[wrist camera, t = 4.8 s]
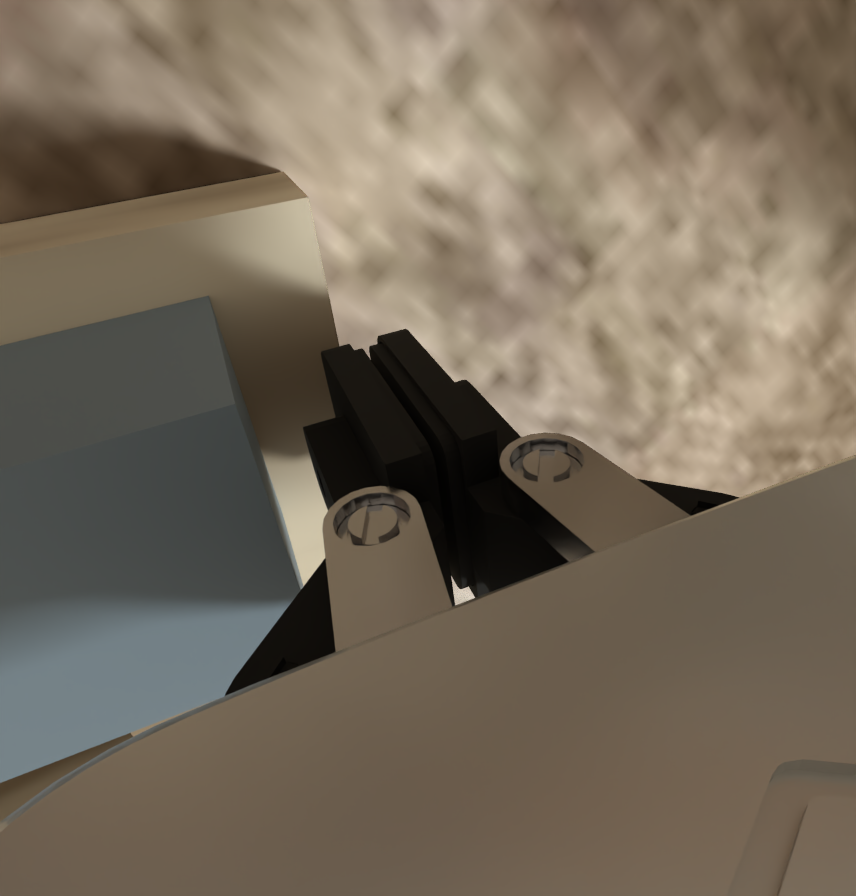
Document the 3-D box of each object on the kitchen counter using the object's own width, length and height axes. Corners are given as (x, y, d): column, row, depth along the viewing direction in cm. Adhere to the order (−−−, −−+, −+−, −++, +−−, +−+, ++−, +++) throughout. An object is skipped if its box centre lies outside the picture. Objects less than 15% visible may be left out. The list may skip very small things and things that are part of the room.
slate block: (-124, 375, 9) (-256, 542, 6) (208, 296, 11) (234, 404, 7) (35, 595, 12) (-2, 782, 9) (282, 514, 13) (324, 657, 10)
